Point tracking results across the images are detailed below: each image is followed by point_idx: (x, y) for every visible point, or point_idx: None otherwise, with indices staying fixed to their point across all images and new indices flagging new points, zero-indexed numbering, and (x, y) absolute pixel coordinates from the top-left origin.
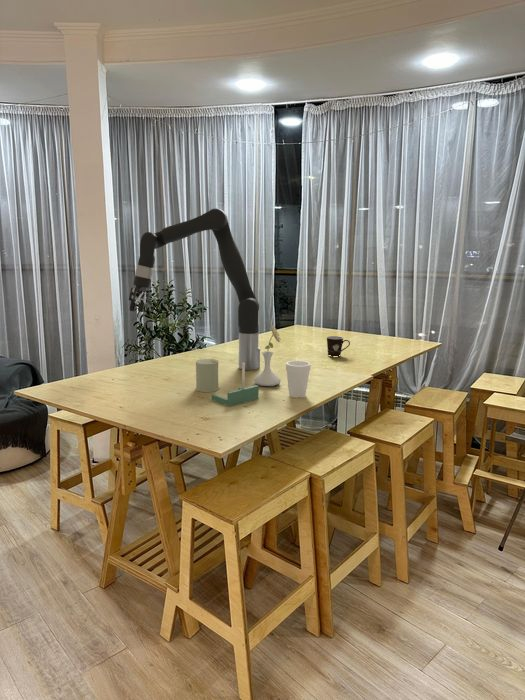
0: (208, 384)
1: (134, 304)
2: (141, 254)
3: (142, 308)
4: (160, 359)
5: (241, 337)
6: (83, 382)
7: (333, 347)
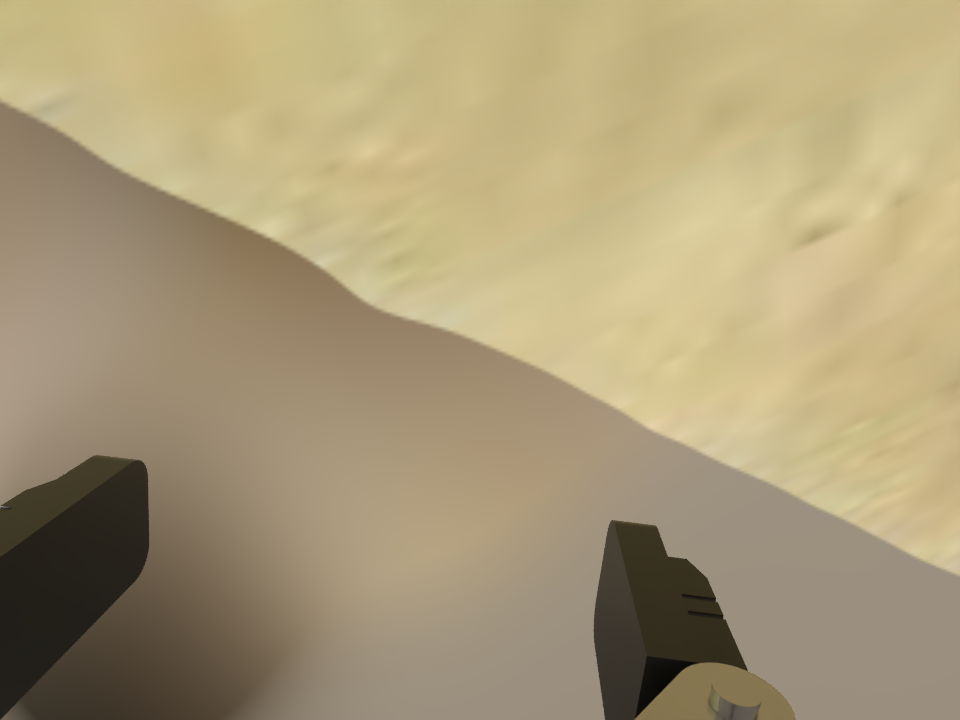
0: None
1: (691, 654)
2: None
3: (90, 505)
4: (37, 88)
5: None
6: (885, 394)
7: None
